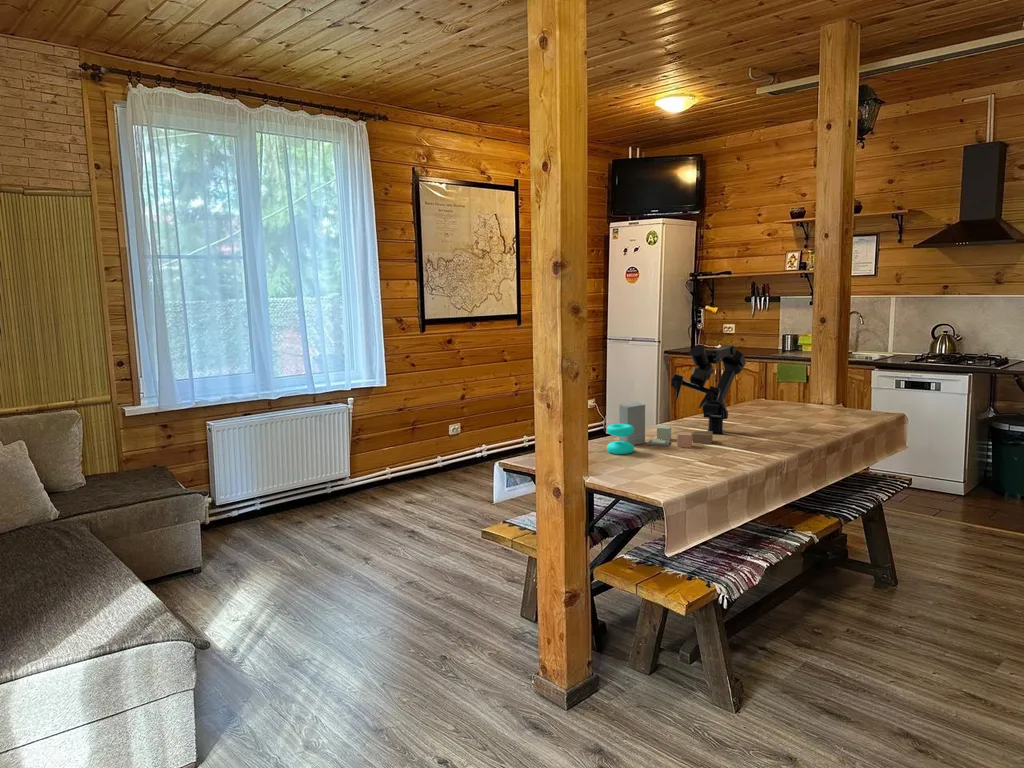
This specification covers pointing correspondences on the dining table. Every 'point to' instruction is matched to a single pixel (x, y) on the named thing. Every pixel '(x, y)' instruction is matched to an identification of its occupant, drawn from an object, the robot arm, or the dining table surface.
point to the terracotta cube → (684, 439)
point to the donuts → (620, 446)
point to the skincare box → (633, 421)
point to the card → (658, 442)
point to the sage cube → (664, 432)
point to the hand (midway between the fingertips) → (687, 403)
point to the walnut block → (702, 437)
